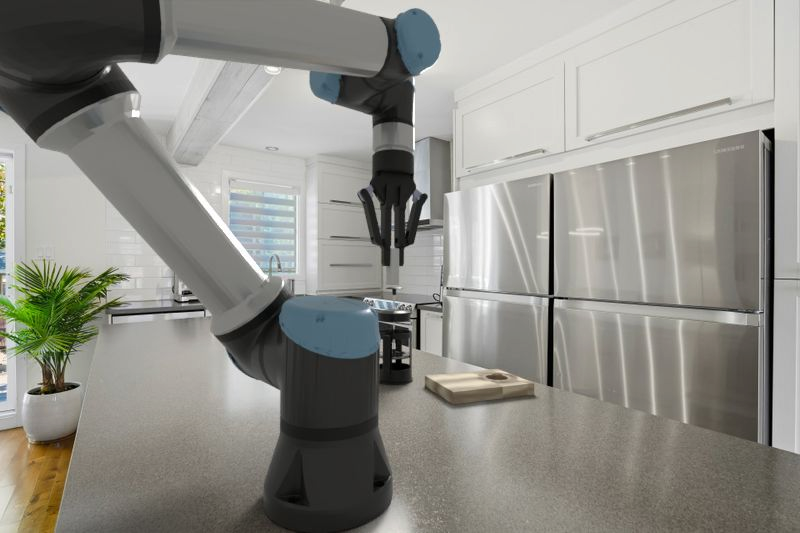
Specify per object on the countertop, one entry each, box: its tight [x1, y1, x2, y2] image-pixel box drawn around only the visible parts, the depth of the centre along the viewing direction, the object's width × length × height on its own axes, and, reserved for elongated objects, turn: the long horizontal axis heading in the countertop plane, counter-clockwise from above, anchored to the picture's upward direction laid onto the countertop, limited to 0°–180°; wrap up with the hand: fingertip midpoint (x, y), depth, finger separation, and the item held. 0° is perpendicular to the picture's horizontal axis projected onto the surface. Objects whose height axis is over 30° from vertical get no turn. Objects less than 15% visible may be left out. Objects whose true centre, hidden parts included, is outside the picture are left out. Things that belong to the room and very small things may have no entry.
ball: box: [490, 373, 505, 380], centre depth 95 cm, size 4×4×4 cm
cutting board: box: [424, 368, 535, 405], centre depth 94 cm, size 14×20×2 cm
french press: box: [375, 286, 414, 386], centre depth 102 cm, size 12×9×23 cm
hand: (392, 284), depth 74 cm, fingers closed
